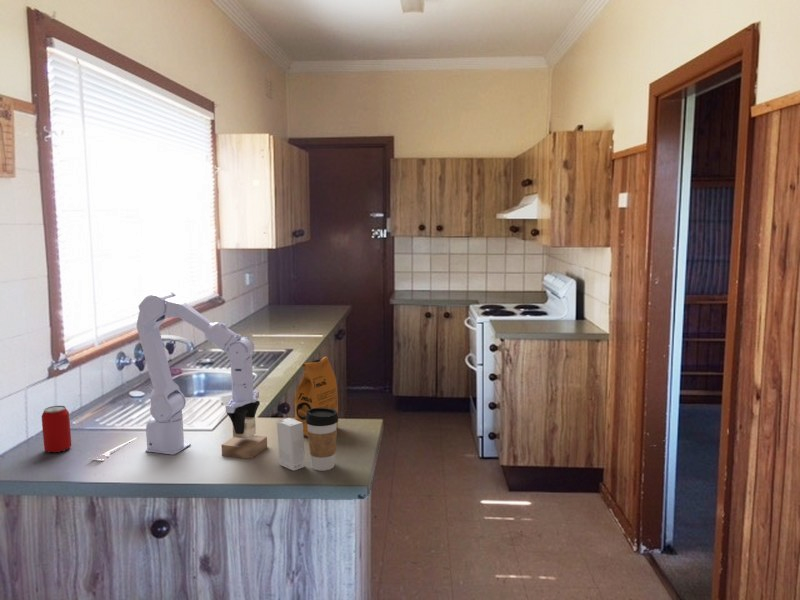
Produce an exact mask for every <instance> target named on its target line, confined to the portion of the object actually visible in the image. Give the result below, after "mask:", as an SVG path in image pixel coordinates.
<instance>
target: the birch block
mask: <svg viewBox="0 0 800 600" xmlns="http://www.w3.org/2000/svg"><path fill="white" fill-rule="evenodd" d="M231 424H232V438H233V437H235V438H244V439H248V438H250V437H251V436H253V435H256V433H257V427H256V417H255V418H253V417H245V425H244V433H243V434H236V433H235V430H234V426H233V423H232V422H231Z"/></svg>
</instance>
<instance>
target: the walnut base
mask: <svg viewBox="0 0 800 600" xmlns="http://www.w3.org/2000/svg"><path fill="white" fill-rule="evenodd" d="M266 448H268V437H267V436H263V435H256V434H254V435H253V436H251V437H250V438H248V439H244V438H235V437H233V436H232V437H230V439H228V440H227V441H225V442H223V443H222V444H221V456H224V457H234V458H240V457H242V458H243V459H249V458H251V460H252V459H253V458H255V457H256V456H257V455H258V453H259V452H260V453H261V452H262V451H264V450H265V449H266ZM260 453H259V454H260ZM254 456H255V457H254Z"/></svg>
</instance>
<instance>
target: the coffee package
mask: <svg viewBox="0 0 800 600" xmlns="http://www.w3.org/2000/svg"><path fill="white" fill-rule="evenodd" d="M301 368H303V369H304V370H305V372H304V373H303V376H302V378H301V381H300V383H299V384H298V387H297V389H296V391H295V397H294V408H295V409H294V411H295V415H294V416H295V417H294V418H295V419H294V420H296V421H299V422H302V423H303V434H304V437H307V438H308V432H307V429H308V424H307V423H306V413H307V412H306V411H307V410H309V409H311V408H329V409H334V410H336V411H337V415H338V412H339V411H338V410H339V407H338V406H339V405H338V403H339V399H338V398H339V397H338V385H337V379H336V374H335V371H334V370H333V368H332V365H331V362H330V360H329V357H328V356H324V357H322V359H321V360H319V361H316V362H314V361H313V362H303V364H302V365H301ZM338 416H339V415H338ZM338 424H339V421H338V422H337V429H338V427H339V425H338Z"/></svg>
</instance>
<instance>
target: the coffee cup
mask: <svg viewBox="0 0 800 600" xmlns="http://www.w3.org/2000/svg"><path fill="white" fill-rule="evenodd" d="M306 412H307V413H306V423H307V424H308V429H307V432H308V437H307V438H308V446H309V448H308V449H309V455H310V462H311V468H312V469H313V470H314V471H320V472H321V471H325V472H326V471H329V470H331V469H333V468H335V462H336V450H337V449H336V448H337V436H338V435H337V434H338V428H337V422H338V423H339V415H337V411H336V410H334V409H329V408H311V409H309V410H307V411H306Z"/></svg>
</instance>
